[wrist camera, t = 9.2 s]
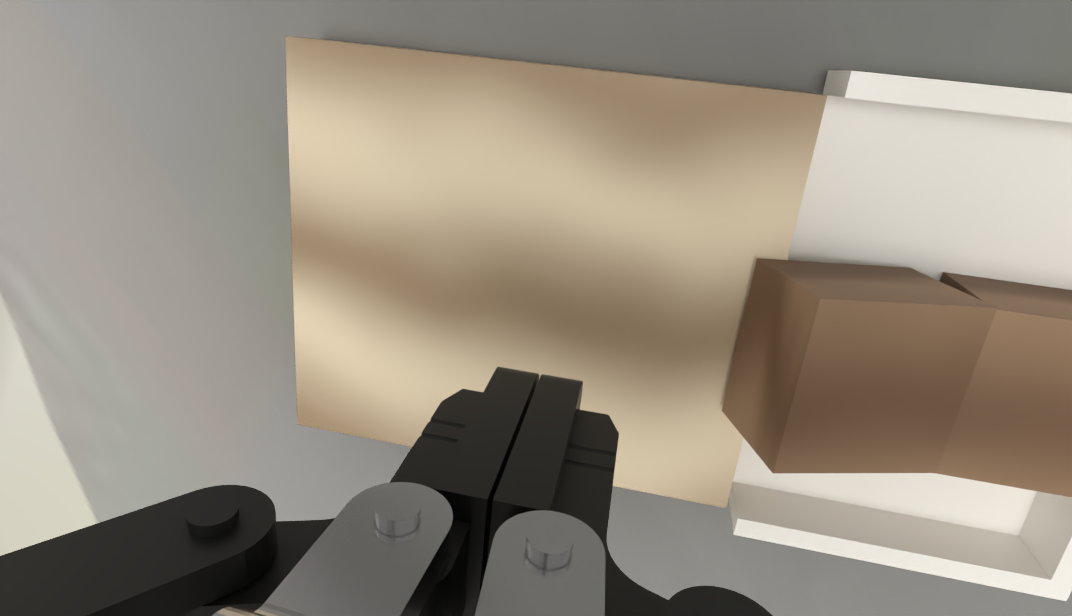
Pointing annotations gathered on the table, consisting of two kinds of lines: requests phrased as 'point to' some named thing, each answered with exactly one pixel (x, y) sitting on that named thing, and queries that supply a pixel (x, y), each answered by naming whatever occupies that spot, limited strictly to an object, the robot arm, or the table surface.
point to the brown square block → (852, 366)
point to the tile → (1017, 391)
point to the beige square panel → (534, 242)
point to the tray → (933, 248)
